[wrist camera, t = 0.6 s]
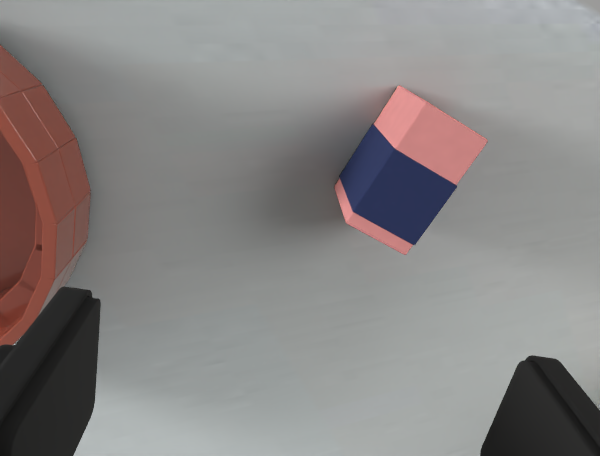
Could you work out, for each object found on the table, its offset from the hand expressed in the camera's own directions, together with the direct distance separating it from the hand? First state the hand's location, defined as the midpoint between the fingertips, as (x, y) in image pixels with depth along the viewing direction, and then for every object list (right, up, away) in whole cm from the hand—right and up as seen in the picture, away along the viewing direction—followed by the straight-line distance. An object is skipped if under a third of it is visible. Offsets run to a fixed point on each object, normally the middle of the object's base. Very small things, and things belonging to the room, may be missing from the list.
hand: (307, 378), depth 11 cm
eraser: (+4, +7, +15) cm, 17 cm away
